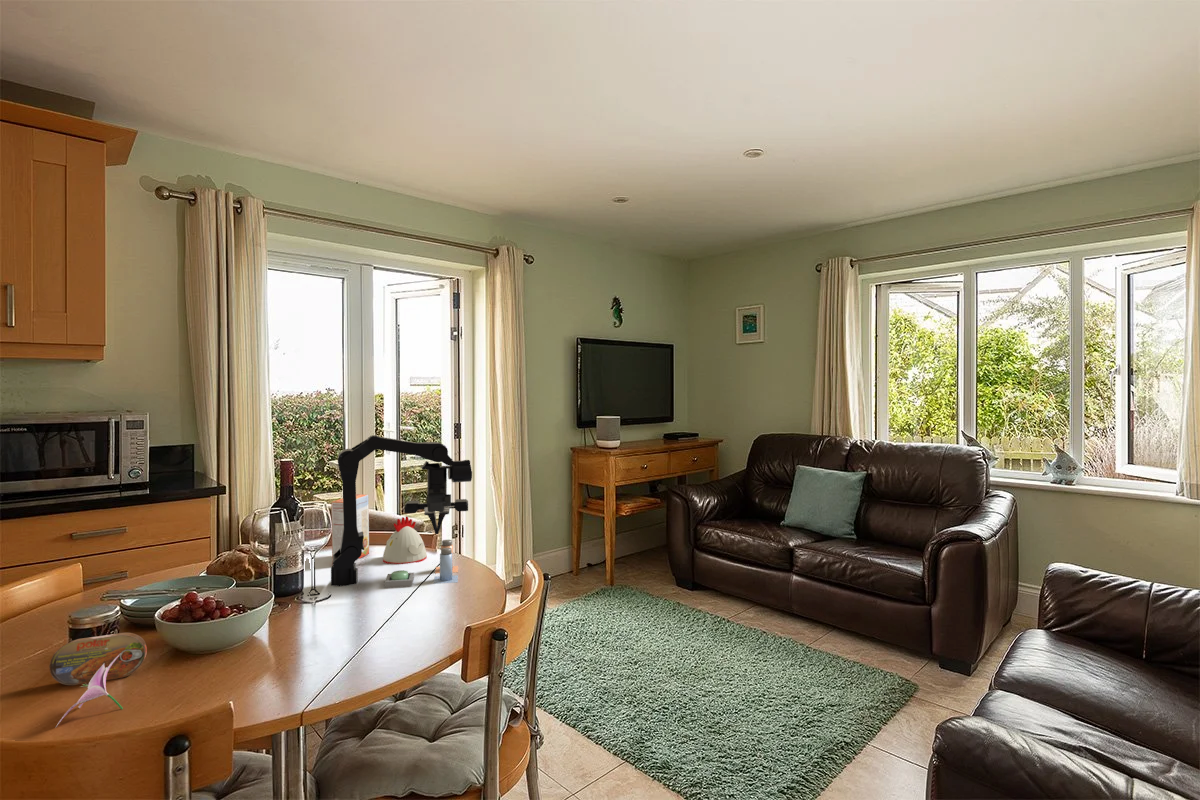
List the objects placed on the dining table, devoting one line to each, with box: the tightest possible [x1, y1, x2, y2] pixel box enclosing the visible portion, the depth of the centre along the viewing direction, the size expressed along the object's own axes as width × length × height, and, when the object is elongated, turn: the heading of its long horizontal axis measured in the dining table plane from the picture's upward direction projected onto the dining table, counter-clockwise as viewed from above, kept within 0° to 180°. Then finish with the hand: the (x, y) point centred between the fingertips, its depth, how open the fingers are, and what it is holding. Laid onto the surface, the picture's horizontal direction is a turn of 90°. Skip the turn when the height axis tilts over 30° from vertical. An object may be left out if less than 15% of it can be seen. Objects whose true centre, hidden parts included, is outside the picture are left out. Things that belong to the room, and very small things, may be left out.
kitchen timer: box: [382, 516, 428, 565], centre depth 203 cm, size 14×14×15 cm
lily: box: [55, 653, 124, 728], centre depth 108 cm, size 12×12×10 cm
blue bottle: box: [439, 548, 453, 581], centre depth 181 cm, size 4×4×9 cm
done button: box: [390, 570, 409, 580], centre depth 177 cm, size 5×5×3 cm
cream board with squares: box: [384, 565, 459, 589], centre depth 184 cm, size 22×19×3 cm
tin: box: [49, 632, 148, 686], centre depth 121 cm, size 15×3×8 cm, turn 114°
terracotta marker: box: [440, 539, 454, 570], centre depth 191 cm, size 4×4×9 cm
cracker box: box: [330, 493, 370, 565], centre depth 205 cm, size 14×6×21 cm, turn 172°
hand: (436, 533), depth 188 cm, fingers closed
